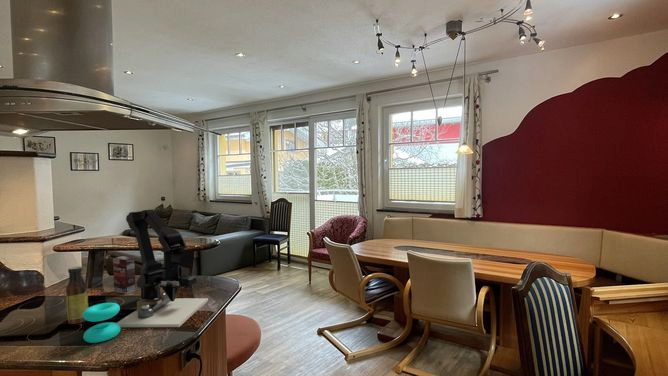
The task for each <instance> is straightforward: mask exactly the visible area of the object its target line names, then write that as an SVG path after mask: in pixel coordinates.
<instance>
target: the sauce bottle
mask: <svg viewBox="0 0 668 376" xmlns="http://www.w3.org/2000/svg"><path fill="white" fill-rule="evenodd" d="M67 272H68V276H69V277H68V278H69V279H68V280H69V281H68V283H67V284H66V288H65V293H66V295H65V299H66V315H67V322H68V324H69V325H78V324H82V323H84V322H87V320H85V319H84V318H83V312H84V311H85V310H86V309H87V308H89V295H88V286H87V284H86V282H85V281H84V278H83V266H73V267H69V268H68V269H67Z"/></svg>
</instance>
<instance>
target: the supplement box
mask: <svg viewBox="0 0 668 376" xmlns="http://www.w3.org/2000/svg"><path fill="white" fill-rule="evenodd" d="M135 262H136V261H135V257H131V256H118V257H114V258H112V265H113V266H112V268H113V270H112V271H113V273H112V274H113V292H114V293H119V294H124V295H127V294H130V293H134V292H136V265H135V264H136V263H135Z"/></svg>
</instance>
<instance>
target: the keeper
mask: <svg viewBox="0 0 668 376" xmlns="http://www.w3.org/2000/svg"><path fill="white" fill-rule="evenodd" d="M140 299H141V298H140ZM140 299H138V300H137V301H136V310H137V312H138V310H139V309H141V308H142V305H145V304H149V305H155V304H159V303H160V302H162V299H159V298H158V299H141V300H140Z"/></svg>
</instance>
